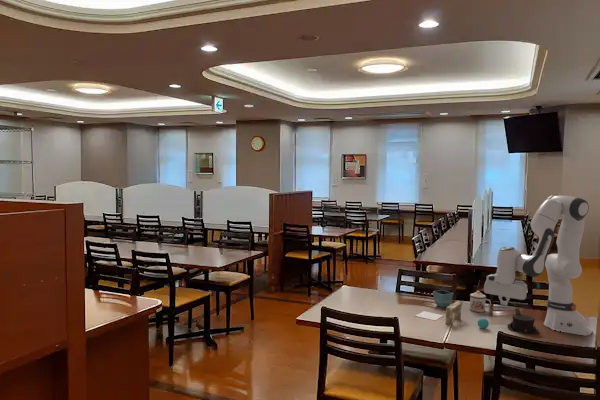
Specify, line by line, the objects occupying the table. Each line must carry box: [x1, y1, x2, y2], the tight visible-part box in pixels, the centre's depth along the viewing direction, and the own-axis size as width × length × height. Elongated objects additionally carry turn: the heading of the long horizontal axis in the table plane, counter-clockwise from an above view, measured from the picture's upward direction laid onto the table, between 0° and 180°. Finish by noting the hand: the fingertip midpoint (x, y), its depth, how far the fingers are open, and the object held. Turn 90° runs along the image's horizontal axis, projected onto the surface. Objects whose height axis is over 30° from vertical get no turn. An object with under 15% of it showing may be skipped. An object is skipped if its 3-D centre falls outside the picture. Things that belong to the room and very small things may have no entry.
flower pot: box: [432, 289, 454, 309], centre depth 283 cm, size 9×9×9 cm
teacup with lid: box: [469, 290, 492, 313], centre depth 277 cm, size 12×9×12 cm
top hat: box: [507, 307, 540, 335], centre depth 244 cm, size 15×15×10 cm
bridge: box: [445, 301, 462, 326], centre depth 255 cm, size 3×14×9 cm, turn 141°
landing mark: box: [414, 310, 444, 322], centre depth 264 cm, size 12×12×1 cm
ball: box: [477, 317, 490, 330], centre depth 245 cm, size 6×6×6 cm
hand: (503, 304), depth 238 cm, fingers closed
